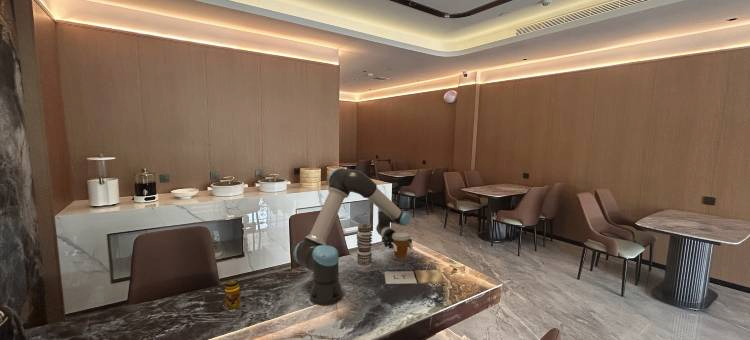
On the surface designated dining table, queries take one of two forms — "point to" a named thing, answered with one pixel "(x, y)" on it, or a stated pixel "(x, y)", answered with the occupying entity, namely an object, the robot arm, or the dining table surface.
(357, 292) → the dining table surface
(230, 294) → the condiment
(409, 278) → the mat
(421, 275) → the oak coaster
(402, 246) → the disposable coffee cup
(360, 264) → the decorative candle
